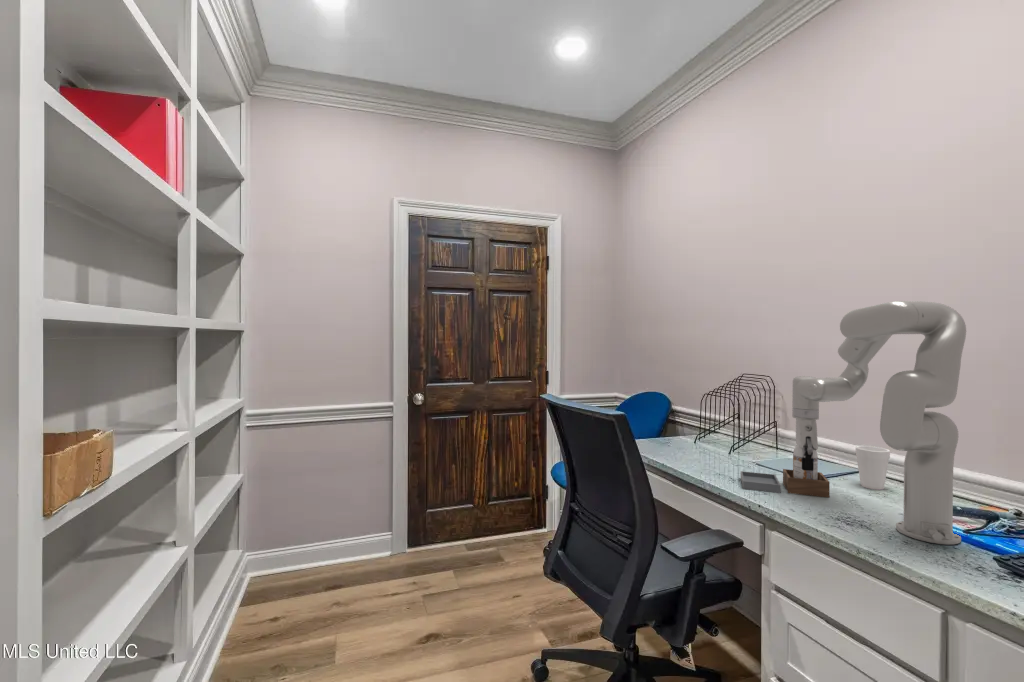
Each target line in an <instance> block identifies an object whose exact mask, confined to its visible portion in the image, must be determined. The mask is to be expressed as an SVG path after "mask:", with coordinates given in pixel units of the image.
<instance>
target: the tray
mask: <svg viewBox="0 0 1024 682" xmlns="http://www.w3.org/2000/svg"><path fill="white" fill-rule="evenodd" d="M740 482H741V485H742V490H750V491H758V492H759V491H760V492H766V493H767V492H768V493H778V494H780V493H781V491H782V489H781V488H782V485H781V483H780V481H779V479H778V477H777V475H776V474H772V473H764V472H752V471H744V470H743V471H740ZM781 494H782V493H781Z"/></svg>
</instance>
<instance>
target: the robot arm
mask: <svg viewBox="0 0 1024 682" xmlns="http://www.w3.org/2000/svg"><path fill="white" fill-rule="evenodd" d="M839 331H840V333H841V334H842V336H844V337H845V339H844V340H843V342H841V344H840V346H839V347H837V348H838V349H837V353H838V356H839V357H840V358H841V359H842V360H843V361H844V362H846V363H847V365H846V368H844V370H843V371H842V372H841V374H840V375H839V376H838V377H814V376H805V375H804V376H803V375H802V376H795V377H793V379H792V408H791V409H792V418H793V419H795V443H796V445H797V444H798V445H799V447H800V448H801V449H802V452H803V457H802V470H809V471H813V470H814V459H813V448H814V450H816V451H818V448H819V447H818V445H819V444H818V426H817V421H818V420H819V419H820V403H825V402H827V403H828V402H829V403H830V402H845V401H848V400H850V399H852V398H853V397H854V396H855V395H857V393H858V392H859V391H860V390H861V389H862V387H863V386H864V385H865V384H866V382H867V379H868V376H869V363H870V362H871V361H872V359H874V358H875V356H876V355H877V353H879V352H880V350H881V349H882V348H883V347H884V345H885V344H886V343H887V342H888V340H890V338H891V337H892V336H893V335H894V336H895V335H923V336H924V339H923V340H922V341H921V343H920V344H919V347H918V348H917V352H916V356H915V362H914V363H915V365H914V368H913V370H902V371H899V372H896V373H894V374H893V375H892V376H890V377H889V379H888V380H887V382H886V383H885V387H884V389H883V396H882V405H881V411H880V420H879V422H880V423H879V432H880V435H881V438H882V440H883V442H884V443H885V444H886V445H887V446H889V448H892V449H894V450H896V451H901V452H906V453H905V457H904V462H903V521H898V522H896V524H895V529H896V531H897V532H899V533H900V534H902V535H904V536H907V537H909V538H912V539H915V540H918V541H922V542H927V543H931V544H937V545H949V546H951V545H958V544H960V543H961V542H962V537H961V535H960V534H959V535H960V536H959V535H957V534H958V533H957V534H954V533H953V531H954V530H953V529H954V528H953V527H954V526H953V525H954V524H953V522H954V520H953V519H954V518H953V516H954V513H953V512H954V509H953V508H954V507H953V506H954V461H955V455H956V449H957V446H958V441H959V429H958V427H957V424H956V422H955V421H953V419H952V418H951V417H949V416H947V415H946V414H945V413H941V412H937V411H928V410H927V411H926V409H931V408H933V409H934V408H942V407H947V406H950V405H951V404H952V403H954V402H955V399H956V397H957V393H958V387H959V379H960V371H961V363H962V357H963V356H962V355H963V350H964V346H965V342H966V336H967V325H966V322H965V320H964V318H963V316H962V315H961V314H960V313H959V312H958V311H957V310H956V309H954V308H953V307H951V306H949V305H946V304H943V303H941V302H940V303H939V302H935V301H934V302H932V301H908V300H907V301H905V300H904V301H903V300H899V301H898V300H897V301H890V302H884V303H880V304H875V305H871V306H866V307H862V308H861V307H860V308H857V309H853V310H851V311H849V312H847V313H846V314H845V315H844V316H842V319H841V321H840V323H839ZM812 446H813V448H812ZM804 447H807V448H804ZM805 451H806V452H805Z"/></svg>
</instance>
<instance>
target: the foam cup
mask: <svg viewBox="0 0 1024 682" xmlns="http://www.w3.org/2000/svg"><path fill="white" fill-rule="evenodd" d="M855 455H856V461H857V467H858V474H859V475H858V477H859V483H860V486H861V487H862V488H864V489H865V488H866V489H870V490H876V491H877V490H878V491H879V490H880V491H881V490H884V489H885V484H886V479H887V472H888V467H889V461H890V458H891V450H890V449H887V448H885V447H881V446H873V445H857V446H856V445H855Z"/></svg>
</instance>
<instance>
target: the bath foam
mask: <svg viewBox="0 0 1024 682" xmlns="http://www.w3.org/2000/svg"><path fill="white" fill-rule="evenodd" d="M804 448H807V447H804ZM812 448H813V446H812ZM805 452H806V451H805ZM802 457H803V452H802V449H801V448H800V447H799V445H798V444H796V445H795V447H794V448H793V454H792V470H793V478H800V479H811V480H818V472H819V471H818V469H819V468H818V467H819V466H818V465H819V458H818V457H819V456H818V450H814V448H813V459H814V470H813V471H809V470H802Z"/></svg>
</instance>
